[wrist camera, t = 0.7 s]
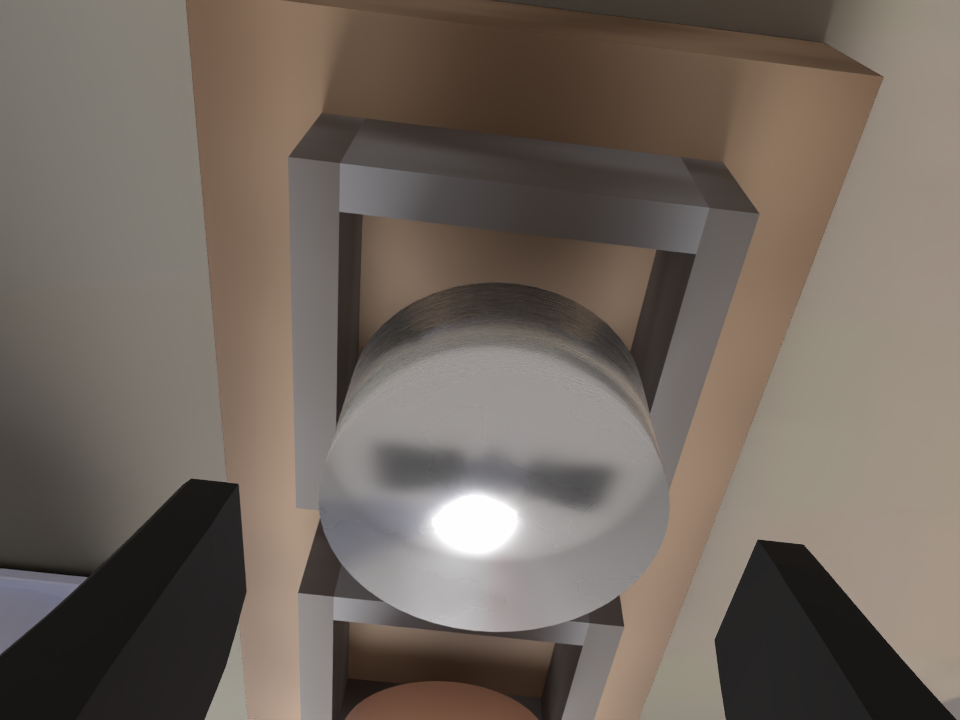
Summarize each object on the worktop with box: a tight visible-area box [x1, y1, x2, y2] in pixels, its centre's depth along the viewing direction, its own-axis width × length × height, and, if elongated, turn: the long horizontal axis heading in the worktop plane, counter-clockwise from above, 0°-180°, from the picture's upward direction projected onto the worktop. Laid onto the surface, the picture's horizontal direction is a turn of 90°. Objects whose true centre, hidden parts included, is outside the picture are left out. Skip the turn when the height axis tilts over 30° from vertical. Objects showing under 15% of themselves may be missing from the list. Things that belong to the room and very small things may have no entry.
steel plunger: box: [318, 282, 670, 632], centre depth 12 cm, size 5×5×2 cm
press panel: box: [186, 0, 883, 720], centre depth 19 cm, size 12×21×6 cm, turn 174°
